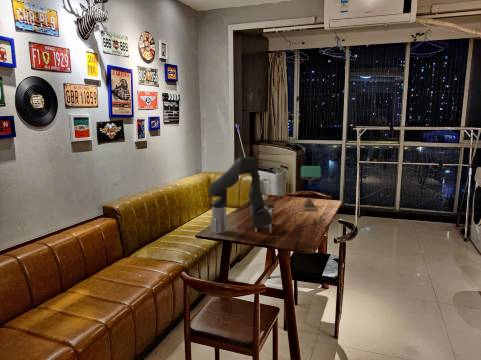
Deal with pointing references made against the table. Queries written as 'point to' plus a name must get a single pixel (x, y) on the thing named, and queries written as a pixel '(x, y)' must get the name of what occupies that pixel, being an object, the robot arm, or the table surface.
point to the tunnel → (270, 224)
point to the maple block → (265, 199)
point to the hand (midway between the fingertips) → (263, 204)
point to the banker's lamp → (308, 173)
